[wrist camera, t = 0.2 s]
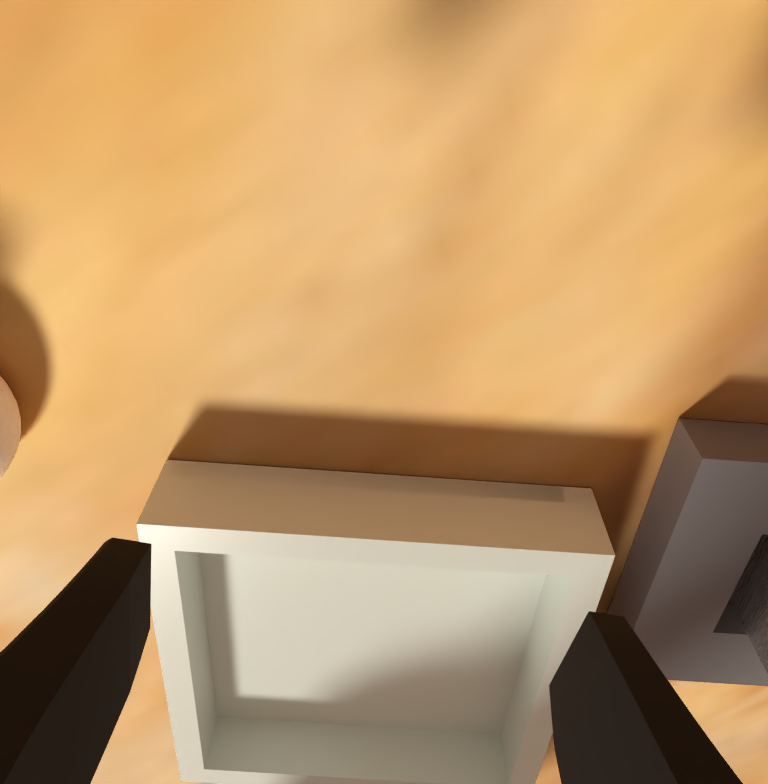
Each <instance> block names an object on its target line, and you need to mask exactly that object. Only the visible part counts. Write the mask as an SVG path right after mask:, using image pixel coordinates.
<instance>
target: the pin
mask: <svg viewBox="0 0 768 784" xmlns="http://www.w3.org/2000/svg"><path fill="white" fill-rule="evenodd" d="M730 601H731V603H732V605H733V607H734V609H735V611H736V613H737V615H738V617H739V619H740V621H741V623H742V625H743V627H744V629H745V631H746V633H747V635H748V637H749V639H750V641H751V643H752V645H753V647H754V649H755V651H756V653H757V654H758V656H759V658H760V660H761V662H762V664H763V666H764V668H765V670H766V672H767V674H768V535H764V534H762V536H761V538H760V540H759V542H758V544H757V546H756V548H755V550H754V551H753V553H752V555H751V557H750V559H749V561H748V563H747V565H746V567H745V569H744V571H743V573H742V575H741V577H740V579H739V581H738V583H737V585H736V587H735V589H734V591H733V593H732V595H731V597H730Z"/></svg>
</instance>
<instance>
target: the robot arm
mask: <svg viewBox="0 0 768 784" xmlns="http://www.w3.org/2000/svg"><path fill="white" fill-rule="evenodd" d="M150 601H151V544H150V543H144V542H137V541H131V540H124V539H118V538H111V539H109V540H107V541H106V542H105V543H104V544H103V545H102V546H101V547H100V548H99V550H98V551H97V552H96V553H95V554H94V556H93V557H92V558H91V559H90V560H89V561H88V562H87V563H86V565H85V566H84V567H83V568H82V569H81V570H80V571H79V572H78V574H77V575H76V576H75V577H74V578H73V579H72V580H71V581H70V582H69V583H68V584H67V586H66V587H65V588H64V589H63V590H62V591H61V592H60V593H59V594H58V595H57V596H56V597H55V598H54V599H53V600H52V601H51V602H50V604H49V605H48V606H47V607H46V608H45V609H44V610H43V611H42V612H41V613H40V614H39V615H38V616H37V617H36V618H35V619H34V620H33V621H32V622H31V623H30V624H29V625H28V626H27V627H26V628H25V629H24V630H23V631H22V632H21V633H20V634H19V635H18V636H17V637H16V638H15V639H14V640H13V641H12V642H11V643H10V644H9V645H8V646H7V647H6V648H5V649H3V650H2V651H1V652H0V784H90V783H91V781H92V778H93V776H94V774H95V772H96V769H97V767H98V765H99V762H100V760H101V758H102V755H103V753H104V751H105V749H106V746H107V744H108V742H109V739H110V737H111V735H112V732H113V730H114V728H115V725H116V723H117V721H118V718H119V716H120V714H121V711H122V709H123V707H124V704H125V702H126V700H127V697H128V695H129V693H130V690H131V687H132V684H133V681H134V678H135V674H136V671H137V668H138V665H139V662H140V659H141V655H142V652H143V649H144V646H145V642H146V639H147V636H148V633H149V630H150ZM549 691H550V704H551V717H552V727H553V737H554V746H555V753H556V758H557V763H558V768H559V773H560V778H561V783H562V784H743V783H742V782H741V781H740V779H739V778H738V777H737V776H736V774H735V773H734V772H733V770H732V769H731V768H730V766H729V765H728V764H727V762H726V761H725V760H724V758H723V757H722V756H721V754H720V753H719V752H718V750H717V749H716V748H715V746H714V745H713V743H712V742H711V741H710V739H709V738H708V737H707V735H706V734H705V732H704V731H703V730H702V728H701V727H700V726H699V724H698V723H697V721H696V720H695V719H694V717H693V716H692V714H691V713H690V712H689V710H688V709H687V707H686V706H685V704H684V703H683V702H682V700H681V699H680V697H679V696H678V694H677V693H676V692H675V690H674V689H673V687H672V686H671V684H670V683H669V681H668V680H667V678H666V677H665V676H664V674H663V673H662V671H661V670H660V668H659V667H658V665H657V664H656V662H655V661H654V660H653V658H652V657H651V655H650V654H649V652H648V651H647V649H646V648H645V646H644V645H643V643H642V642H641V641H640V639H639V638H638V636H637V635H636V633H635V632H634V630H633V629H632V627H631V626H630V625H629V623H628V622H627V620H626V619H625V618H624V617H623V616H617V615H610V614H604V613H597V612H591V611H589V612H588V614H587V615H586V617H585V619H584V621H583V623H582V625H581V627H580V629H579V630H578V632H577V634H576V636H575V638H574V640H573V642H572V643H571V645H570V647H569V649H568V651H567V653H566V655H565V656H564V658H563V660H562V662H561V664H560V666H559V668H558V670H557V671H556V673H555V675H554V677H553V679H552V681H551V683H550V684H549Z"/></svg>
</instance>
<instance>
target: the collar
mask: <svg viewBox="0 0 768 784" xmlns="http://www.w3.org/2000/svg"><path fill="white" fill-rule="evenodd" d="M762 534H764V535H768V424H754V423H740V422H726V421H711V420H697V419H683V418H679V419H678V421H677V424H676V427H675V429H674V432H673V435H672V438H671V440H670V443H669V446H668V449H667V451H666V454H665V457H664V459H663V462H662V465H661V468H660V470H659V473H658V476H657V479H656V481H655V484H654V487H653V489H652V492H651V495H650V498H649V500H648V503H647V506H646V509H645V511H644V514H643V517H642V519H641V522H640V525H639V528H638V530H637V533H636V536H635V539H634V541H633V544H632V547H631V549H630V552H629V555H628V558H627V560H626V563H625V566H624V569H623V571H622V574H621V577H620V579H619V582H618V585H617V588H616V590H615V593H614V596H613V599H612V601H611V604H610V607H609V609H608V612H607V614H610V615H617V616H623V617H624V618H625V619H626V620H627V622H628V623H629V625H630V626H631V627H632V629H633V630H634V632H635V633H636V635H637V636H638V638H639V639H640V641H641V642H642V643H643V645H644V646H645V648H646V649H647V651H648V652H649V654H650V655H651V657H652V658H653V660H654V661H655V662H656V664H657V665H658V667H659V668H660V670H661V671H662V673H663V674H664V676H665V677H666V678H667V680H679V681H695V682H711V683H727V684H743V685H758V686H768V674H767V672H766V670H765V668H764V666H763V664H762V662H761V660H760V658H759V656H758V654H757V653H756V651H755V649H754V647H753V645H752V643H751V641H750V639H749V637H748V635H747V633H746V631H745V629H744V627H743V625H742V623H741V621H740V619H739V617H738V615H737V613H736V611H735V609H734V607H733V605H732V603H731V601H730V597H731V595H732V593H733V591H734V589H735V587H736V585H737V583H738V581H739V579H740V577H741V575H742V573H743V571H744V569H745V567H746V565H747V563H748V561H749V559H750V557H751V555H752V553H753V551H754V550H755V548H756V546H757V544H758V542H759V540H760V538H761V536H762Z"/></svg>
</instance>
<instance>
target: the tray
mask: <svg viewBox="0 0 768 784" xmlns="http://www.w3.org/2000/svg"><path fill="white" fill-rule="evenodd" d="M137 530H138V536H139V541H140V542H144V543H150V544H151V601H150V605H151V611H152V617H153V623H154V628H155V634H156V640H157V646H158V652H159V657H160V663H161V669H162V675H163V681H164V686H165V692H166V698H167V704H168V710H169V715H170V721H171V727H172V733H173V738H174V744H175V750H176V756H177V762H178V767H179V773H180V779H181V781H183V782H200V783H217V784H535V782H536V779H537V776H538V774H539V771H540V768H541V765H542V762H543V759H544V757H545V754H546V751H547V748H548V745H549V742H550V739H551V737H552V734H553V727H552V717H551V704H550V691H549V684H550V683H551V681H552V679H553V677H554V675H555V673H556V671H557V670H558V668H559V666H560V664H561V662H562V660H563V658H564V656H565V655H566V653H567V651H568V649H569V647H570V645H571V643H572V642H573V640H574V638H575V636H576V634H577V632H578V630H579V629H580V627H581V625H582V623H583V621H584V619H585V617H586V615H587V614H588V612H589V611H591V612H596V609H597V606H598V603H599V600H600V598H601V595H602V592H603V589H604V586H605V583H606V581H607V578H608V575H609V572H610V569H611V566H612V564H613V561H614V558H615V553H614V550H613V548H612V545H611V542H610V539H609V536H608V534H607V531H606V528H605V525H604V522H603V520H602V517H601V514H600V511H599V508H598V505H597V503H596V500H595V497H594V494H593V491H592V489H591V488H578V487H563V486H549V485H534V484H519V483H504V482H490V481H475V480H460V479H445V478H431V477H416V476H401V475H386V474H372V473H357V472H342V471H327V470H313V469H298V468H283V467H268V466H254V465H239V464H224V463H209V462H195V461H180V460H166V462H165V464H164V466H163V468H162V471H161V473H160V475H159V477H158V479H157V481H156V483H155V485H154V488H153V490H152V492H151V494H150V496H149V498H148V500H147V503H146V505H145V507H144V509H143V511H142V513H141V515H140V517H139V520H138V522H137Z"/></svg>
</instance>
